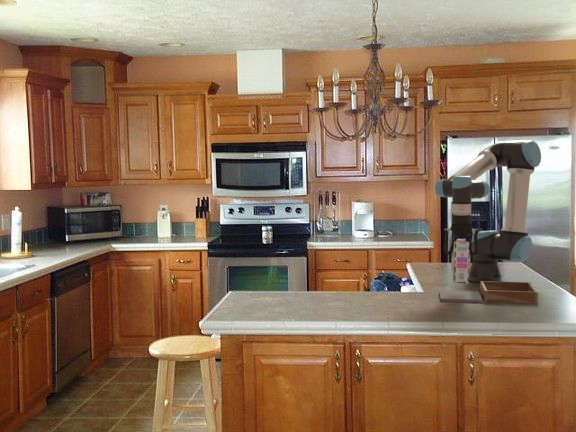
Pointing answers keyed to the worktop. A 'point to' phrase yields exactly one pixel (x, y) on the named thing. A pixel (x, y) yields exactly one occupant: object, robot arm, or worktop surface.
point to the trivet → (460, 296)
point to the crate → (508, 292)
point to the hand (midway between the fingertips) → (460, 270)
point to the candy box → (461, 261)
